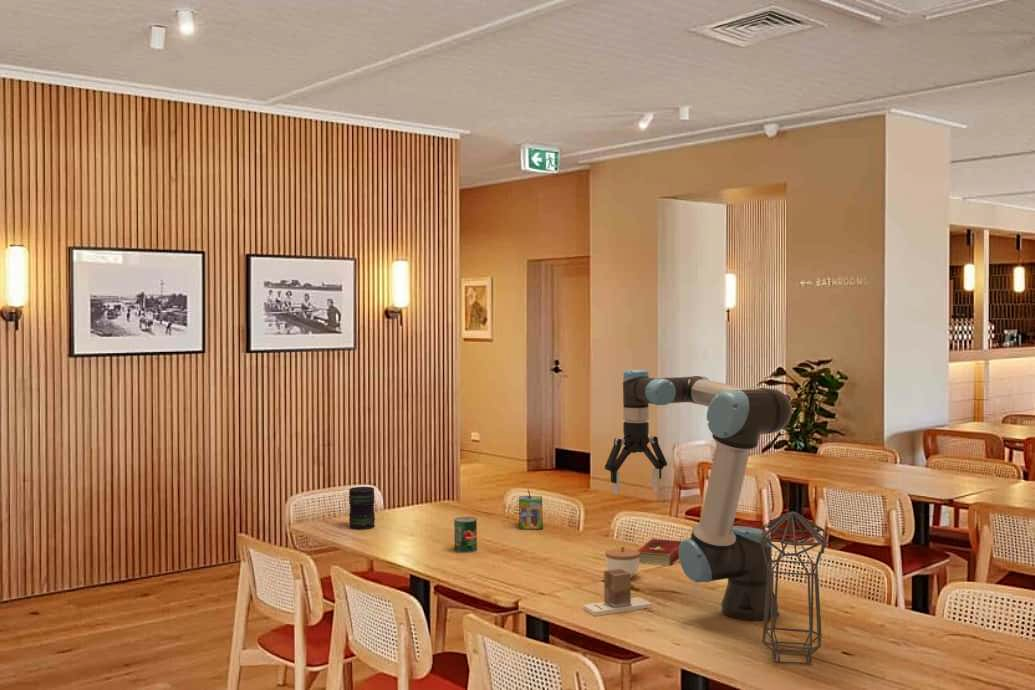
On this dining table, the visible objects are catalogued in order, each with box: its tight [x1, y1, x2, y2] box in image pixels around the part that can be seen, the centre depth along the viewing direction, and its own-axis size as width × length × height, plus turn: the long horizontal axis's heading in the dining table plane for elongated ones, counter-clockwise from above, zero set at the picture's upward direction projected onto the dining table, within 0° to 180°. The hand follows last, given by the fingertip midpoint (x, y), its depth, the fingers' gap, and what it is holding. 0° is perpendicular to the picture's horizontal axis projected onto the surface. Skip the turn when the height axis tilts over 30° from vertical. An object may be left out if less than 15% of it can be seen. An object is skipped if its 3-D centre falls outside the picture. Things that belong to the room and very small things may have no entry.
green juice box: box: [518, 488, 544, 531], centre depth 383 cm, size 9×9×15 cm
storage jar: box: [348, 486, 376, 531], centre depth 386 cm, size 10×10×15 cm
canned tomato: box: [453, 516, 478, 554], centre depth 346 cm, size 8×8×11 cm
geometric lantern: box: [759, 511, 829, 665], centre depth 235 cm, size 16×16×35 cm
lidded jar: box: [605, 546, 640, 578], centre depth 310 cm, size 11×11×9 cm
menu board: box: [582, 596, 653, 617], centre depth 277 cm, size 7×18×1 cm, turn 114°
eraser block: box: [603, 569, 632, 608], centre depth 276 cm, size 6×5×9 cm
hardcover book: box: [636, 538, 683, 567], centre depth 335 cm, size 12×21×4 cm, turn 157°
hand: (636, 492), depth 297 cm, fingers open, 13 cm apart
